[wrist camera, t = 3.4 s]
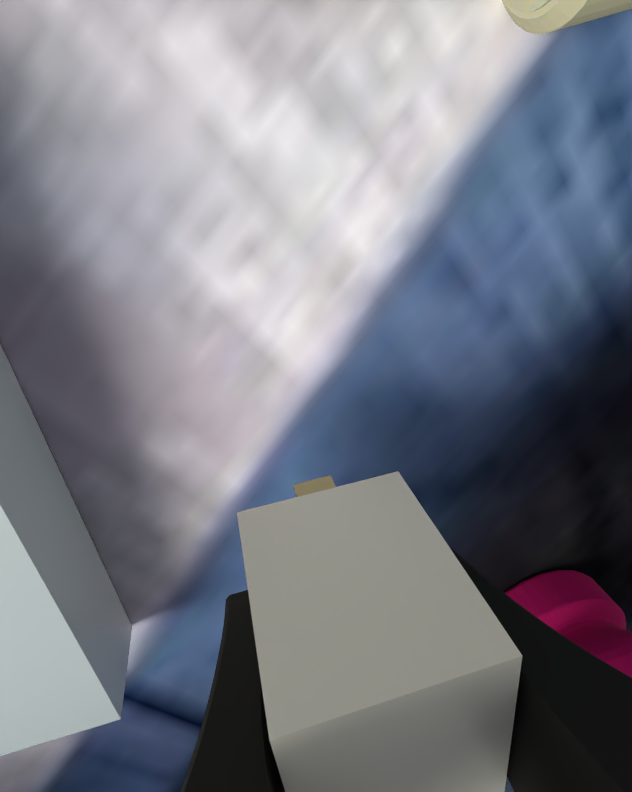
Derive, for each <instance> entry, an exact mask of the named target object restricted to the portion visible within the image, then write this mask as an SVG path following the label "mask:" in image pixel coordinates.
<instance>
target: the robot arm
mask: <svg viewBox="0 0 632 792" xmlns="http://www.w3.org/2000/svg"><path fill="white" fill-rule="evenodd" d="M450 549H451V548H450ZM451 550H452V552H453V553H454V555H455V556H456V558H457V559H458V561H459V562H460V564H461V565H462V567H463V568H464V570H465V571H466V573H467V574H468V576H469V577H470V579H471V580H472V582H473V583H474V585H475V586H476V588H477V589H478V591H479V592H480V593H481V595H482V596H483V598H484V599H485V601H486V602H487V604H488V605H489V607H490V608H491V610H492V611H493V613H494V614H495V616H496V617H497V619H498V620H499V622H500V623H501V625H502V626H503V628H504V629H505V631H506V632H507V634H508V635H509V637H510V638H511V639H512V641H513V642H514V644H515V645H516V647H517V648H518V650H519V651H520V653H521V654H522V663H521V670H520V678H519V686H518V693H517V701H516V708H515V716H514V724H513V731H512V739H511V746H510V754H509V762H508V769H507V777H508V779H509V781H510V783H511V786H512V788H513V790H514V792H632V678H631V677H630V676H628V675H626V674H624V673H622V672H621V671H619V670H617V669H616V668H614V667H612V666H611V665H609V664H607V663H606V662H604V661H602V660H601V659H599V658H597V657H596V656H594V655H592V654H591V653H589V652H588V651H586V650H584V649H583V648H581V647H580V646H578V645H577V644H575V643H573V642H572V641H570V640H569V639H567V638H566V637H564V636H563V635H561V634H560V633H558V632H557V631H556V630H554V629H553V628H551V627H550V626H548V625H547V624H545V623H544V622H543V621H541V620H540V619H538V618H537V617H536V616H534V615H533V614H531V613H530V612H529V611H527V610H526V609H525V608H523V607H522V606H521V605H519V604H518V603H517V602H515V601H514V600H513V599H512V598H510V597H509V596H508V595H507V594H505V593H504V592H503V591H501V590H500V589H499V588H498V587H496V586H495V585H494V584H493V583H491V582H490V581H489V580H488V579H486V578H485V577H484V576H483V575H482V574H480V573H479V572H478V571H477V570H476V569H474V568H473V567H472V566H471V565H470V564H469V563H467V562H466V561H465V560H464V559H463V558H462V557H461V556H459V555H458V554H457V553H456V552H455V551H454V550H453V549H451ZM181 792H285V789H284V786H283V783H282V779H281V776H280V773H279V770H278V767H277V763H276V760H275V757H274V754H273V750H272V747H271V744H270V741H269V735H268V728H267V720H266V713H265V706H264V699H263V692H262V685H261V678H260V671H259V664H258V657H257V650H256V643H255V636H254V629H253V622H252V615H251V608H250V601H249V594H248V590H246V591H243V592H239V593H236V594H232V595H229V597H228V598H227V599H226V606H225V618H224V626H223V633H222V640H221V645H220V651H219V656H218V661H217V665H216V670H215V675H214V679H213V684H212V688H211V692H210V696H209V700H208V704H207V708H206V711H205V715H204V718H203V722H202V726H201V729H200V733H199V737H198V740H197V743H196V747H195V750H194V753H193V756H192V759H191V762H190V765H189V769H188V772H187V775H186V777H185V780H184V783H183V786H182V789H181Z"/></svg>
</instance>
